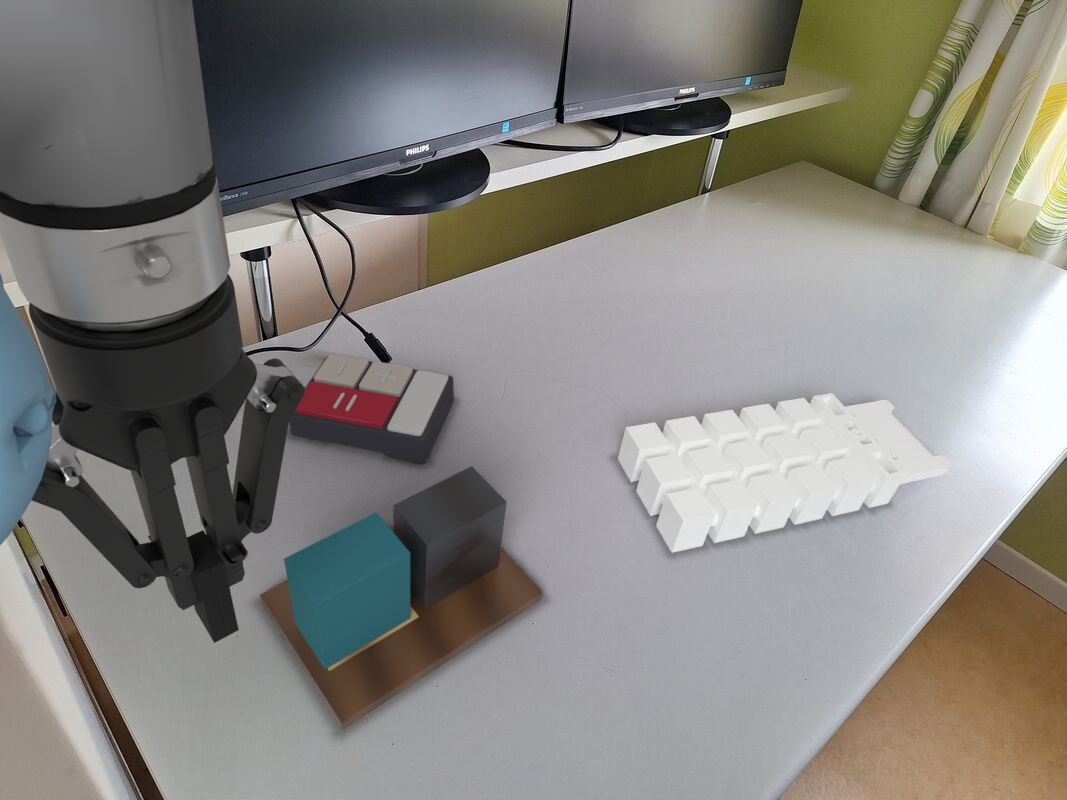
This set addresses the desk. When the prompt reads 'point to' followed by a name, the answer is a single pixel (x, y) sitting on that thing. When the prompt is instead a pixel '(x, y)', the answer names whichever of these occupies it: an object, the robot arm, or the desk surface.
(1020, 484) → the desk surface
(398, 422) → the calculator
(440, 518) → the wooden stand
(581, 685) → the desk surface
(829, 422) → the white ice cube tray
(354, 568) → the teal block
